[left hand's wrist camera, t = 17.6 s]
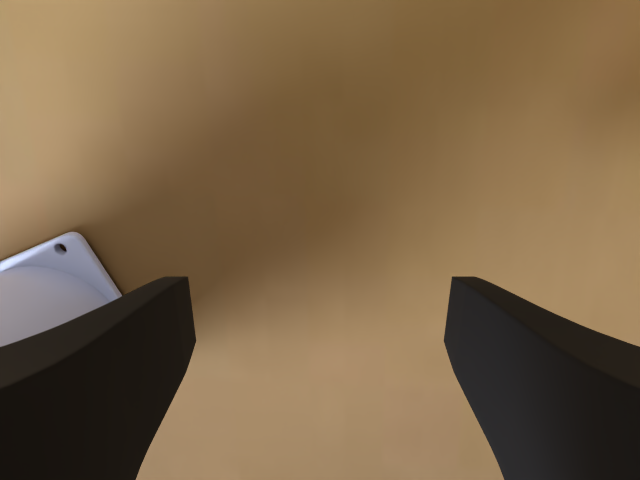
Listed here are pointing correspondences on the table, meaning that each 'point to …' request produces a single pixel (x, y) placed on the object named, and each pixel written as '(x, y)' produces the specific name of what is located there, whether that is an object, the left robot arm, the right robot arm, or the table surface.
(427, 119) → the table surface
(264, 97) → the table surface
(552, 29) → the table surface
